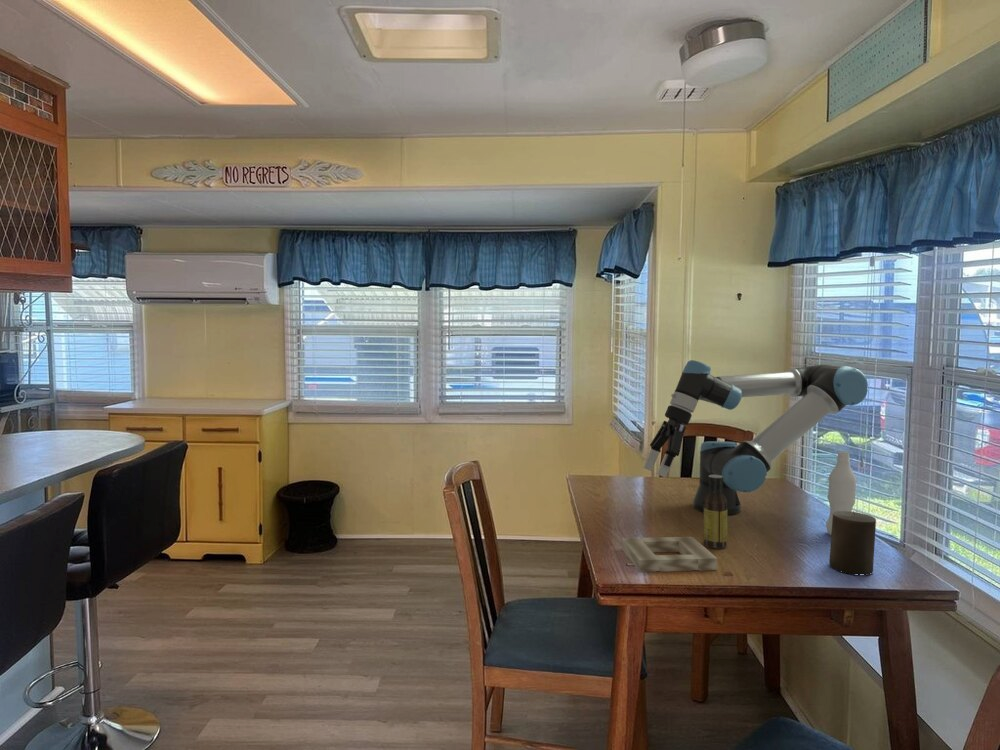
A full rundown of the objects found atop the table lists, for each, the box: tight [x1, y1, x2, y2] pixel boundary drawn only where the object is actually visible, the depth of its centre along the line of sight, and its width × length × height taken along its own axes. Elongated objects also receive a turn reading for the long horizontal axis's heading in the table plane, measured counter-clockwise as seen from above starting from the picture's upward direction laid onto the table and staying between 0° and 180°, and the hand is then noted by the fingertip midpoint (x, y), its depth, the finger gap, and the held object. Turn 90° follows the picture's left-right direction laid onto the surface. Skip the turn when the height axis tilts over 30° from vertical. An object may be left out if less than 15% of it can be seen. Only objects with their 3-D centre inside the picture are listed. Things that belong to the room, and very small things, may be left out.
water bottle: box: [825, 450, 857, 536], centre depth 179 cm, size 7×7×25 cm
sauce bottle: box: [703, 475, 728, 550], centre depth 170 cm, size 6×6×20 cm
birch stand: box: [621, 536, 718, 573], centre depth 160 cm, size 20×16×3 cm
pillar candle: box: [828, 510, 877, 576], centre depth 155 cm, size 10×10×15 cm
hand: (654, 472), depth 187 cm, fingers open, 13 cm apart
